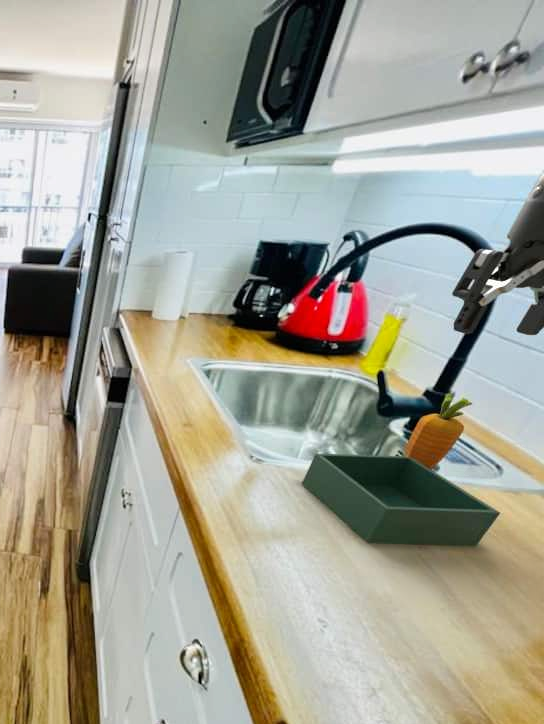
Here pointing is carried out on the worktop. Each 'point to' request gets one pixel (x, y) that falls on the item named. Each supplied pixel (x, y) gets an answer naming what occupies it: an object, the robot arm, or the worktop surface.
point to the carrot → (436, 433)
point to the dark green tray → (397, 500)
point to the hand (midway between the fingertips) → (493, 332)
